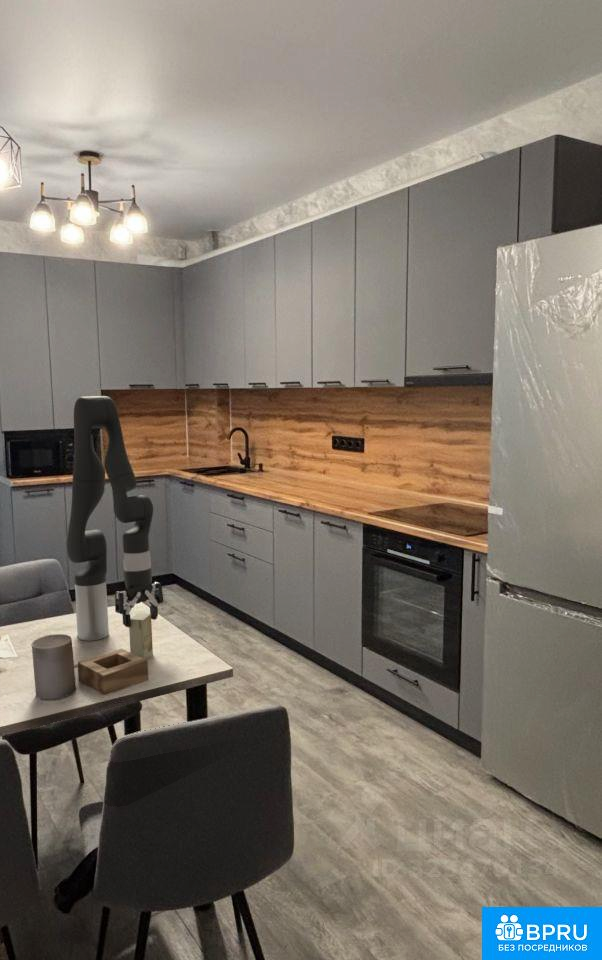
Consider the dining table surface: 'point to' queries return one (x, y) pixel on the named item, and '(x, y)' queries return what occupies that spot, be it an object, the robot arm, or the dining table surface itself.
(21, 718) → the dining table surface
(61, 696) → the pillar candle
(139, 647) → the skincare box
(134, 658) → the socket block
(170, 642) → the dining table surface
